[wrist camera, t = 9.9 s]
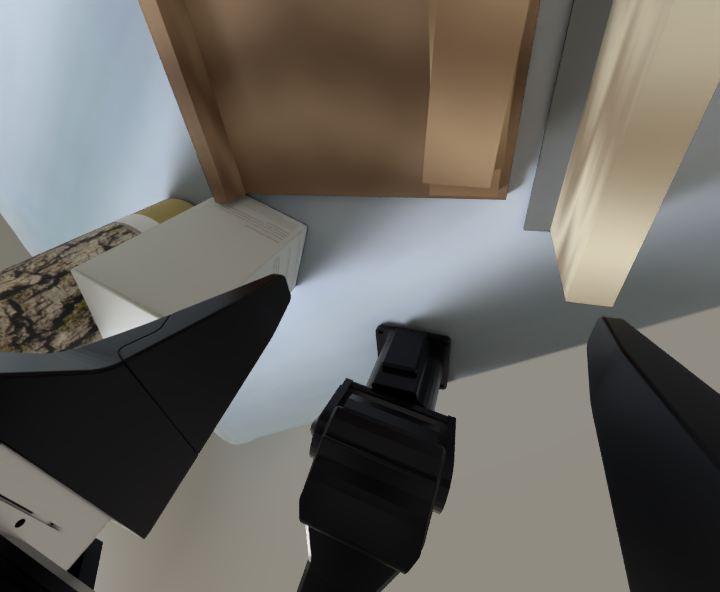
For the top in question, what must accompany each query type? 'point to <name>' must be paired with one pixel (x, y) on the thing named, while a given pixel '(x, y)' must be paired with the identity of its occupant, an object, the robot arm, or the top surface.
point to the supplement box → (189, 262)
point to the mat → (566, 108)
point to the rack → (310, 93)
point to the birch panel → (632, 137)
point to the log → (64, 286)
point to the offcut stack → (470, 93)
